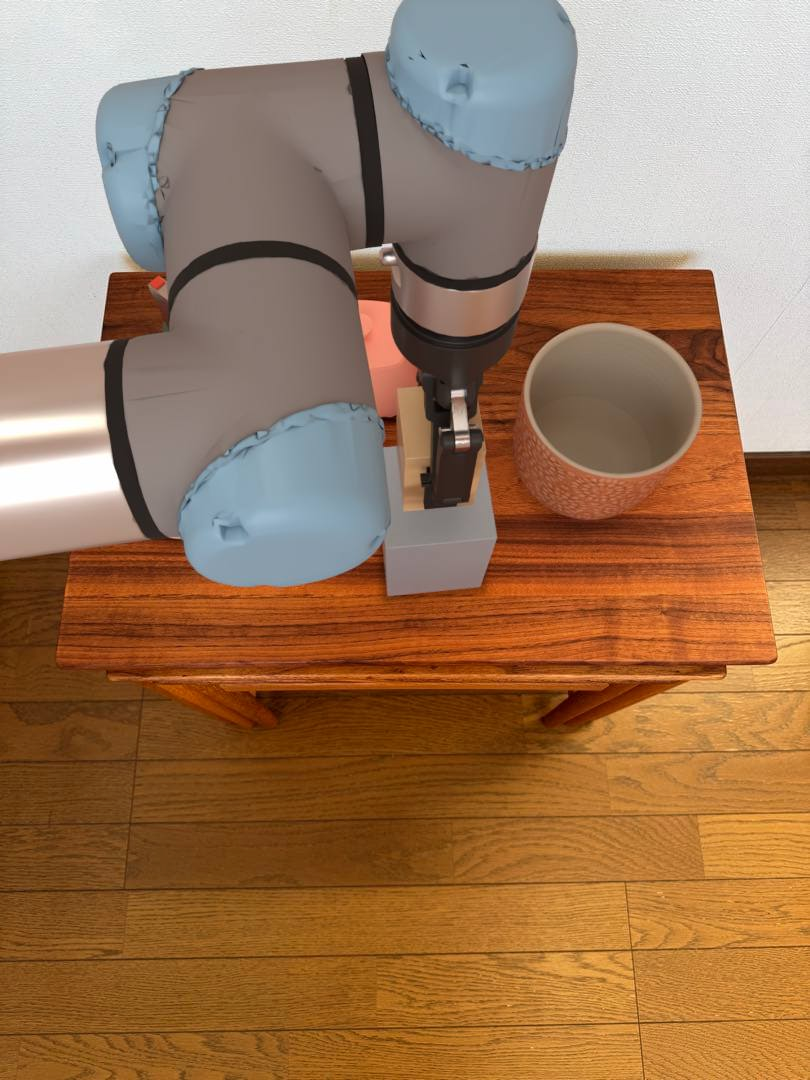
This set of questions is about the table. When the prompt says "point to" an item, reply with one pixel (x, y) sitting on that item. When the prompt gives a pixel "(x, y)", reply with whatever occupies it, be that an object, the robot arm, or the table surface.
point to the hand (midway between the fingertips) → (435, 467)
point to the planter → (603, 419)
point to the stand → (436, 540)
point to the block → (421, 447)
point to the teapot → (384, 357)
